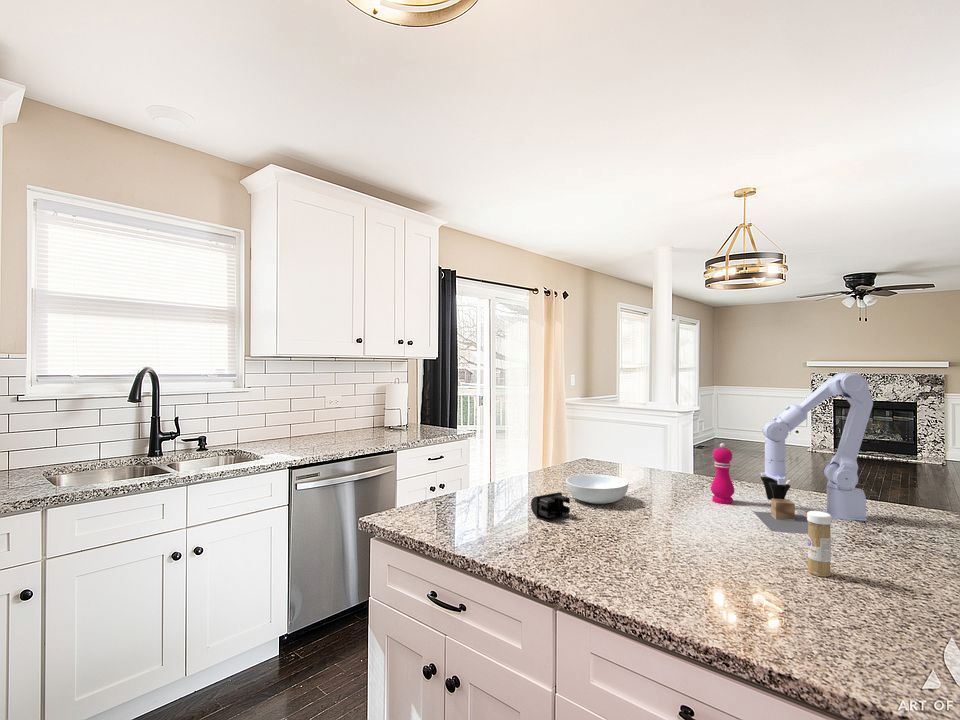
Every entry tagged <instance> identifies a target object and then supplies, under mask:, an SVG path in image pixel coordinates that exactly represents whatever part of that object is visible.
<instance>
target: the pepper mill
mask: <svg viewBox="0 0 960 720" xmlns="http://www.w3.org/2000/svg"><path fill="white" fill-rule="evenodd" d="M712 458H713V459H714V460H715V461H714V467H715V475H714V478H713V480H712V481H711V485H710V491H711V493H712V494H713V495H712V498H711V499H712V503H714V504H720V505H732V504H733V503H734V499H733V497H732V496H733V495H734V494H735V487H734V484H733V482H732V480H731V477H730V468H731V464H732V463H731V461H732V460H733V452H732V451H731V450H730V449H728V448H726V444H725V443H724V442H721V443H720V444H719V447H717V448H715V449H714V450H713V452H712Z"/></svg>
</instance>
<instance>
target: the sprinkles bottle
mask: <svg viewBox="0 0 960 720" xmlns="http://www.w3.org/2000/svg"><path fill="white" fill-rule="evenodd" d="M806 518H807V520H808V534H807V567H806V570H807V572H808V573H809V574H811V575H813V576H817V577H822V578H823V577H830V576H831V575H832V572H831V561H832V559H831V557H832V555H831V554H832V545H831V544H832V538H831V532H832V531H831V526H832V525H831V524H832V518H831V515H830V514H828V513H825V512H822V511H818V510H810V511H809V510H808V512H807V513H806Z"/></svg>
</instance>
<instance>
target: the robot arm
mask: <svg viewBox="0 0 960 720" xmlns="http://www.w3.org/2000/svg"><path fill="white" fill-rule="evenodd" d="M869 385H870V384H869V382H868V380H866V379H865V377H864V376H862V375H861V374H860V373H857V372H844V371H843V372H842V371H841V372H838V373H836V374H834V375H833V376H832V377H830V378H828V379H827V380H826V381H824V382H823V383H822V384H821V385H820V386H818V388H816V389H815V390H814V391H813V392H811V394H809V395H808V396H807V397H806V398H805V399H804V400H803V401H802V402H800V403H799V404H791V405H790V406H789V405H786V406H785V407H784V409H785V410H784V411H783V412H781V413H780V414H779V415H778V416H774V417H773V418H772V421H768V422H767V423H765V424H764V425H763V428H762V434H763V435H764V436H765V437H764V472H761V471H760V479H761V481H762V484H763V486H764V489H765V494H766V495H765V496H766V498H767V500H768V501H771V498H773V499H786V496H787V493H788V491H789V490H790V488H791V485H790V484H786V478H787V474H786V439H787V438H788V436H789V432H792V431H793V430H795V429H796V428H797V427H798V426H799V425H801V424H802V423H803V422H804V421H806V420H807V419H808V413H809V412H810V411H812V410H813V409H815V407H817V406H818V405H821V404H822V402H825V400H827V399H828V398H830V397H833V396H843V397H844V398H845V400H846V401H847V402H848V403H849V405H850V407H849V411H848V413H847V417H846V420H845V423H844V427H843V430H842V434H841V437H840V440H839V443H838V446H837V450H836V453H835V454H834V456H833V457H832V458H831V460H830V463H828V465H826V466H825V468H824V470H823V471H824V472H823V473H824V477H825V478H826V480H827V483H826V509H825V510H824V509H822V510H821V512H825V513H828V514H830V515H831V519H834V520H836V519H837V520H848V521H849V520H850V521H861V522H862V521H864V522H865V521H866V522H867V521H868V519H867V499H866V494H865V492H864V490H863V489H862V488H857V487H856V486H857V485H858V483H859V475H858V470H859V465H858V461H857V460H858V455H859V452H860V449H861V447H862V446H861V445H862V442H863V439H864V436H865V432H866V429H867V426H868V424H869V423H868V422H869V419H870V417H871V413H872V410H873V406H874V401H873V397H872V395H871V392H870V389H869V387H870V386H869Z"/></svg>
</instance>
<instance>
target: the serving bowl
mask: <svg viewBox="0 0 960 720" xmlns="http://www.w3.org/2000/svg"><path fill="white" fill-rule="evenodd" d="M565 485H566V489H567V490H568V492H569V493H570V495H571V496H572V497H574V498H575V499H577V500H580V501H582V502H585V503H588V504H593V505H595V504H596V505H606V504H609V503H611V504H612V503H614V502H618V501H620V500H621V499H623V498H624V497H625V495H626V494H627V492H628V490H629V485H630V484H629V481H628V480H627V479H625V478H622V477H618V476H615V475H614V476H613V475H609V474H608V475H607V474H600V473H599V474H597V473H590V474H589V473H588V474H587V473H586V474H585V473H584V474H575V475H571V476H568V477H567V478H566V479H565Z"/></svg>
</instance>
